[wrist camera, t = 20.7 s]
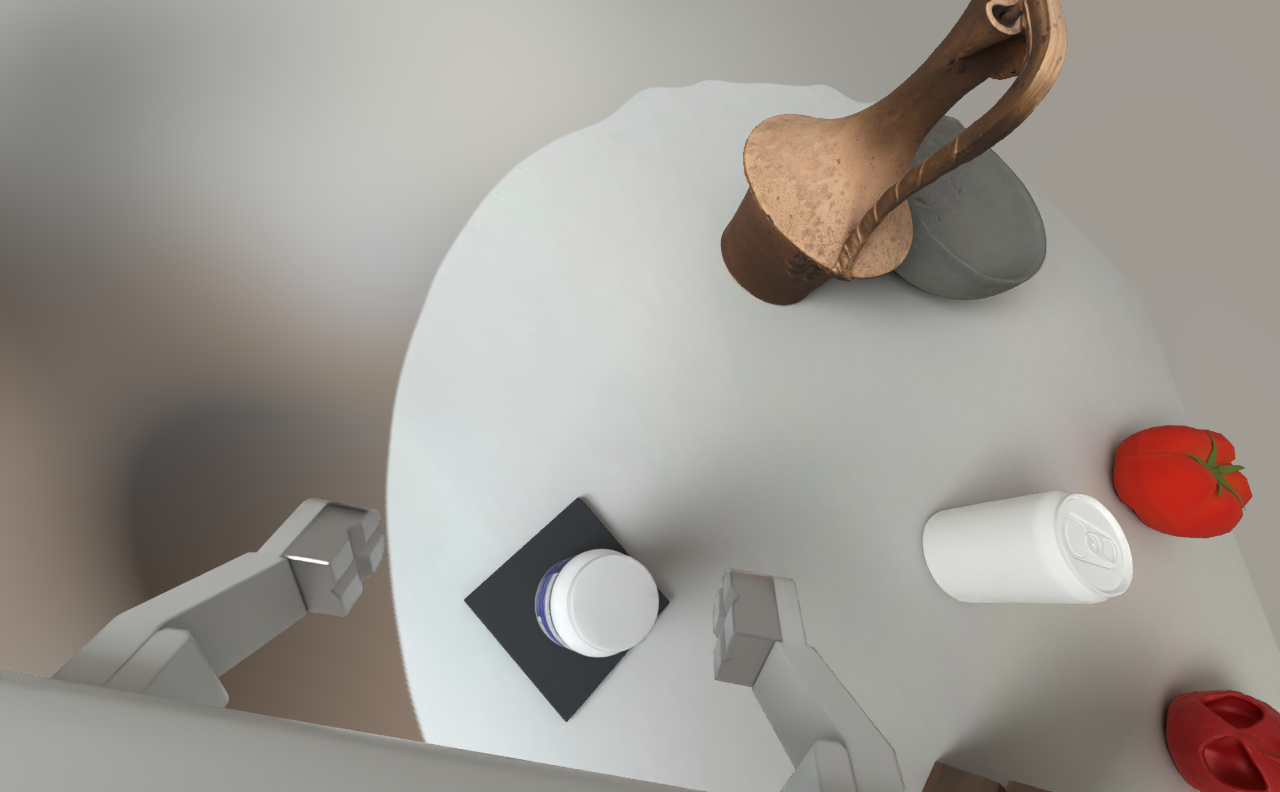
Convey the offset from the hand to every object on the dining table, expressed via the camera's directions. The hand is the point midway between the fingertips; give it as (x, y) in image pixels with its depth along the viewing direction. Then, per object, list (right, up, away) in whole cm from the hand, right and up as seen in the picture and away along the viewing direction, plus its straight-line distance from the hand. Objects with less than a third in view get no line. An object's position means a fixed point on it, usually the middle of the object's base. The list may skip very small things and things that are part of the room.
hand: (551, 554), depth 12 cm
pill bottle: (-2, -10, +23) cm, 25 cm away
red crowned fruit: (+54, -29, +37) cm, 72 cm away
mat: (-3, -10, +23) cm, 26 cm away
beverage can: (+31, -11, +35) cm, 48 cm away
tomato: (+59, -7, +47) cm, 76 cm away
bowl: (+33, +21, +49) cm, 63 cm away
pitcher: (+15, +17, +41) cm, 47 cm away
